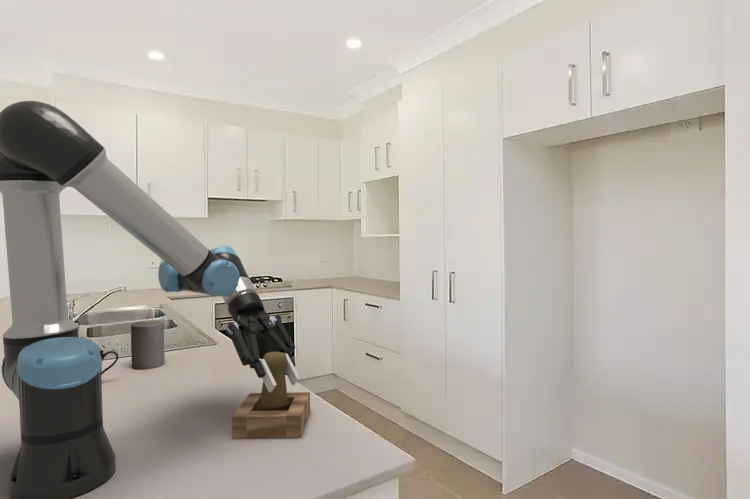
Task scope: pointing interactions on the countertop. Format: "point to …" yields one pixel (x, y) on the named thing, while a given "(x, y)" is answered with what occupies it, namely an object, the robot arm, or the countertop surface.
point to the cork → (279, 393)
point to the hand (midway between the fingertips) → (284, 384)
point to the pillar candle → (147, 344)
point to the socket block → (271, 418)
